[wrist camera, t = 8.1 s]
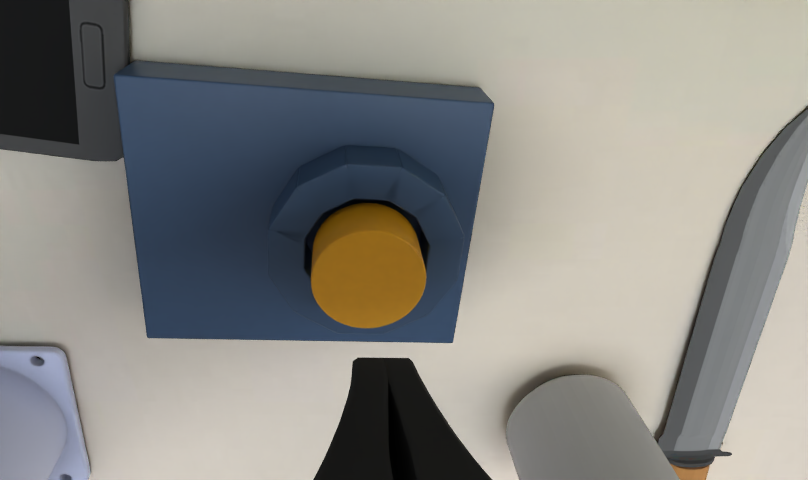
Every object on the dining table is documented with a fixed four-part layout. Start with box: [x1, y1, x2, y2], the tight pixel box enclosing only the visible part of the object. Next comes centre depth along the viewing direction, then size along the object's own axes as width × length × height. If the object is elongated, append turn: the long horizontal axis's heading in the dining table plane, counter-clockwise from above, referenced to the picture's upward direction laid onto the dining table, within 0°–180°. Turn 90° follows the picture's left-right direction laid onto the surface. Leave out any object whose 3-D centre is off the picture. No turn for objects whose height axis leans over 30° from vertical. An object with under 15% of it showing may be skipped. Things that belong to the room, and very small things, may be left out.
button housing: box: [113, 60, 494, 343], centre depth 21 cm, size 12×10×4 cm
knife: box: [657, 108, 808, 480], centre depth 29 cm, size 30×1×5 cm
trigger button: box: [311, 203, 426, 328], centre depth 19 cm, size 4×4×2 cm
